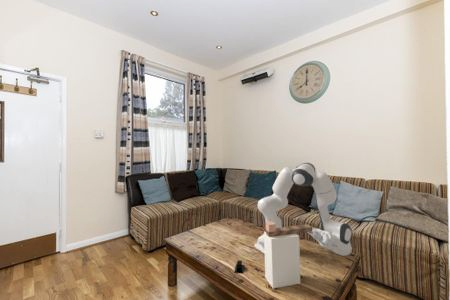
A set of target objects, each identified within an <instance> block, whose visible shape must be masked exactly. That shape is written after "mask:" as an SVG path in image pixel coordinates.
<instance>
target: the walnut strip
mask: <svg viewBox="0 0 450 300" xmlns="http://www.w3.org/2000/svg"><path fill="white" fill-rule="evenodd" d="M312 227H313V226H312V225H309V224H308V223H306V224H305V223H304V224H299V225H290V226H282V227H281V228H276V232H268V231H267V230H266V234H267V235H268V236H269V237H274V236H282V235H289V234H303V233H307V232H312Z"/></svg>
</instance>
